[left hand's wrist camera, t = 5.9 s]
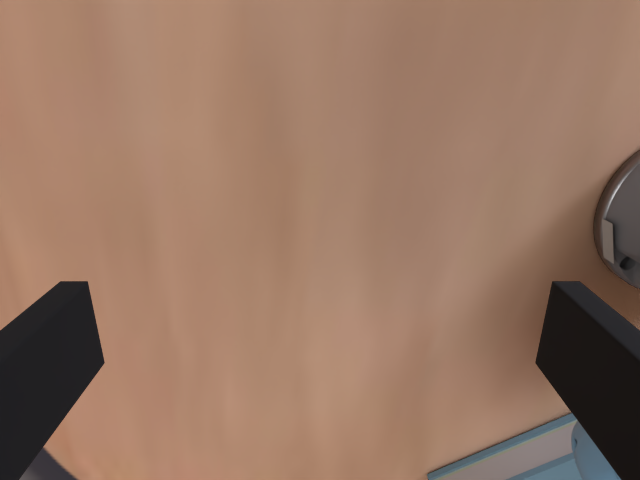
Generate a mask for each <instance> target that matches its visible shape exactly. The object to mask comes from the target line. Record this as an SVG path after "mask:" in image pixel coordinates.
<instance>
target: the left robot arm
mask: <svg viewBox="0 0 640 480" xmlns="http://www.w3.org/2000/svg"><path fill="white" fill-rule="evenodd" d="M594 239H595V244H596V247H597V250H598V253H599V255H600V257H601V259H602V260H603V262H604V263H605V265H606V266H607V267H608V268H609V269H610V270H611V271H612V272H613V273H614V274H616V275H617V276H619V277H620V278H622V279H623V280H624V281H626V282H627V283H629V284H630V285H632V286H634V287H636V288H639V289H640V150H639V151H638V152H636V153H635V154H634V155H633V156H632V157H630V158H629V159H628V160H627V161H626V162H625V163H624V164H623V165H622V166H621V167H620V168H619V170H618V171H617V172H616V173H615V174H614V176H613V177H612V178H611V180H610V181H609V183H608V185H607V186H606V188H605V190H604V192H603V194H602V196H601V198H600V201H599V203H598V206H597V210H596V214H595V220H594ZM103 364H104V358H103V353H102V348H101V343H100V339H99V334H98V329H97V324H96V319H95V315H94V310H93V305H92V300H91V295H90V290H89V286H88V281H60V282H59V283H58V284H57V285H56V286H54V287H53V288H52V289H51V290H49V291H48V292H47V293H46V294H45V295H43V296H42V297H41V298H40V299H38V300H37V301H36V302H35V303H34V304H32V305H31V306H30V307H29V308H27V309H26V310H25V311H24V312H23V313H21V314H20V315H19V316H18V317H16V318H15V319H14V320H13V321H12V322H10V323H9V324H8V325H7V326H5V327H4V328H3V329H2V330H1V331H0V480H19V479H20V477H21V476H22V475H23V473H24V472H25V471H26V469H27V468H28V467H29V465H30V464H31V462H32V461H33V460H34V458H35V457H36V456H37V454H38V453H39V452H40V450H41V449H42V448H43V446H44V445H45V443H46V442H47V441H48V439H49V438H50V437H51V435H52V434H53V433H54V431H55V430H56V428H57V427H58V426H59V424H60V423H61V422H62V420H63V419H64V418H65V416H66V415H67V413H68V412H69V411H70V409H71V408H72V407H73V405H74V404H75V403H76V401H77V400H78V398H79V397H80V396H81V394H82V393H83V392H84V390H85V389H86V388H87V386H88V385H89V383H90V382H91V381H92V379H93V378H94V377H95V375H96V374H97V373H98V371H99V370H100V368H101V367H102V366H103ZM536 364H537V366H538V367H539V368H540V370H541V371H542V373H543V374H544V375H545V377H546V378H547V379H548V381H549V382H550V383H551V385H552V386H553V388H554V389H555V390H556V392H557V393H558V394H559V396H560V397H561V398H562V400H563V401H564V403H565V404H566V405H567V407H568V408H569V409H570V411H571V412H572V413H573V415H574V416H575V418H576V419H577V420H578V421H577V422H576V424H575V425H574V427H573V430H572V434H571V444H572V447H571V448H572V451H573V454H574V459H575V463H576V466H577V469H578V471H579V473H580V476H581V478H582V480H640V331H639V330H638V329H637V328H636V327H635V326H633V325H632V324H631V323H630V322H628V321H627V320H626V319H625V318H624V317H622V316H621V315H620V314H619V313H617V312H616V311H615V310H614V309H613V308H611V307H610V306H609V305H608V304H606V303H605V302H604V301H603V300H602V299H600V298H599V297H598V296H597V295H595V294H594V293H593V292H592V291H591V290H589V289H588V288H587V287H586V286H584V285H583V284H582V283H581V282H580V281H552V286H551V290H550V295H549V300H548V305H547V310H546V315H545V319H544V324H543V329H542V334H541V339H540V343H539V348H538V353H537V358H536Z"/></svg>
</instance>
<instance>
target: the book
mask: <svg viewBox="0 0 640 480" xmlns="http://www.w3.org/2000/svg"><path fill="white" fill-rule="evenodd" d="M577 421H578V420H577V419H576V418H575V416H574V415H573V413H571V414H569V415H566V416H564V417H561V418H559V419H557V420H554V421H552V422H550V423H547V424H545V425H543V426H540V427H538V428H536V429H533V430H531V431H528V432H526V433H524V434H521V435H519V436H517V437H514V438H512V439H510V440H507V441H505V442H502V443H500V444H498V445H495V446H493V447H491V448H488V449H486V450H484V451H481V452H479V453H476V454H474V455H472V456H469V457H467V458H465V459H462V460H460V461H458V462H455V463H453V464H450V465H448V466H446V467H443V468H441V469H439V470H436V471H434V472H432V473H429V474H427V476H428V480H582V478H581V476H580V473H579V471H578V469H577V466H576V463H575V459H574V454H573V451H572V448H571V447H572V444H571V434H572V430H573V427H574V425H575V424H576V422H577Z"/></svg>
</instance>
